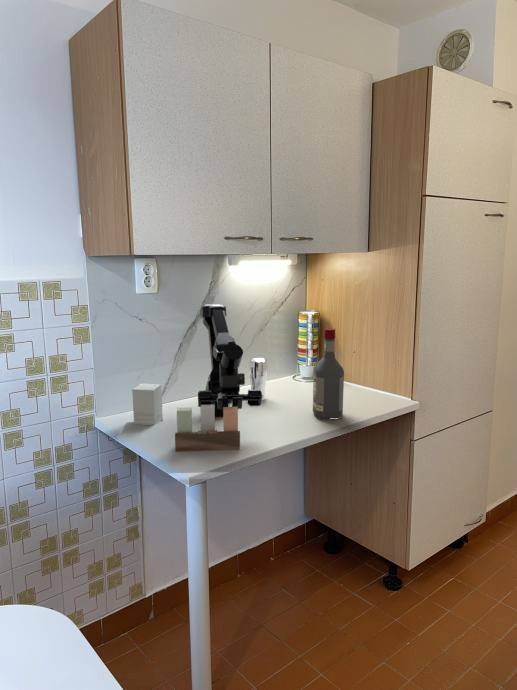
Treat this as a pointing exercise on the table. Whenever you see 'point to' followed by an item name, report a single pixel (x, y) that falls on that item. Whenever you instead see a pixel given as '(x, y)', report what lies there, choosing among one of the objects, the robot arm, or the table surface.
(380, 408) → the table surface
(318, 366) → the liquor
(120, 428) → the table surface
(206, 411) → the light grey tall block
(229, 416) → the salmon brown block
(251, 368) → the beer glass
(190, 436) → the keypad base
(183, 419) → the sage key
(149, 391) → the supplement box
